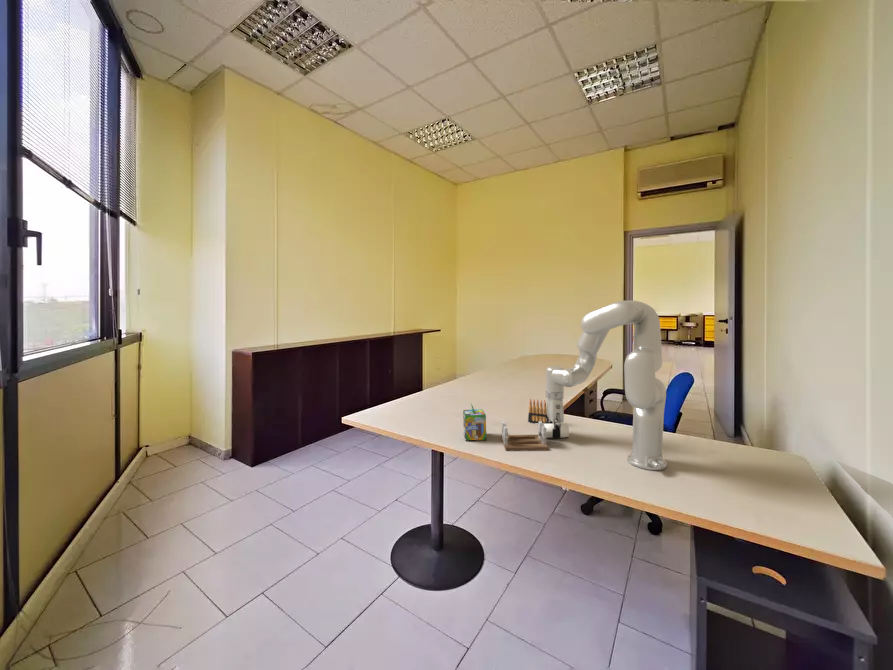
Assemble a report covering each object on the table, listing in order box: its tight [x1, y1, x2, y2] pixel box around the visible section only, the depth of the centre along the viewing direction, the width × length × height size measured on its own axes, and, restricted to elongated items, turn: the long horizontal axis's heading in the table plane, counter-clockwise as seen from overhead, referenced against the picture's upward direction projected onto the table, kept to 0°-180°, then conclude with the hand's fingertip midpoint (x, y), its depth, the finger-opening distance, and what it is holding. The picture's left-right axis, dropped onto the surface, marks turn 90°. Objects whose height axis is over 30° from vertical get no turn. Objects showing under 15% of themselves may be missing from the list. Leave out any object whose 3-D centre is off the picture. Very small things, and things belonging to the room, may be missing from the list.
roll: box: [544, 422, 570, 439], centre depth 154 cm, size 6×11×6 cm, turn 89°
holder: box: [500, 421, 549, 452], centre depth 147 cm, size 14×17×8 cm
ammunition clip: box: [527, 398, 549, 424], centre depth 172 cm, size 11×2×12 cm, turn 62°
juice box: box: [462, 403, 487, 441], centre depth 155 cm, size 9×9×15 cm
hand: (554, 434), depth 154 cm, fingers closed on roll, 6 cm apart
